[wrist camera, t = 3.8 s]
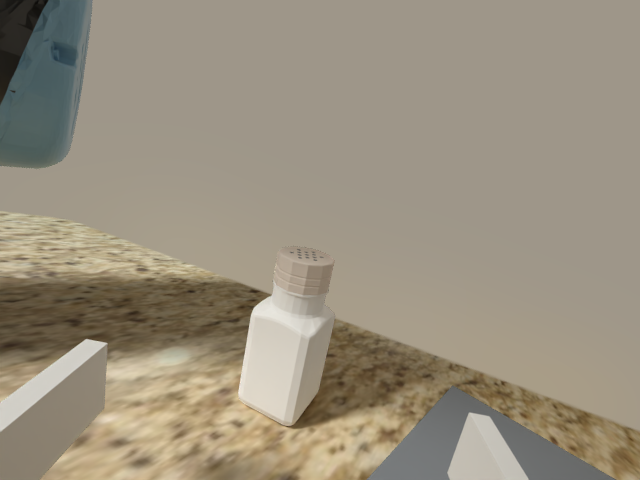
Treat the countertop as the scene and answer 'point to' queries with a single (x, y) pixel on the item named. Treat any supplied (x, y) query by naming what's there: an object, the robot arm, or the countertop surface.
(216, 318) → the countertop surface
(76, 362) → the robot arm
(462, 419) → the rubber mat
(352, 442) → the countertop surface
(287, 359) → the salt shaker
